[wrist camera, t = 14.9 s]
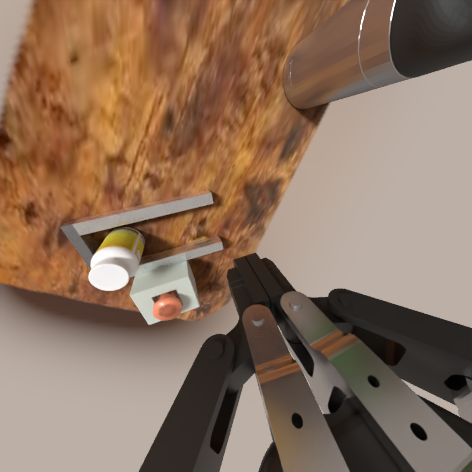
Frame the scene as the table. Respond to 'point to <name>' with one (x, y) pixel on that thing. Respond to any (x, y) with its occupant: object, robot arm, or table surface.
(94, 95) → the table surface
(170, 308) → the plunger
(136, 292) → the plunger housing block
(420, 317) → the robot arm
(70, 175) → the table surface
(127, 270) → the pill bottle
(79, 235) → the rail
